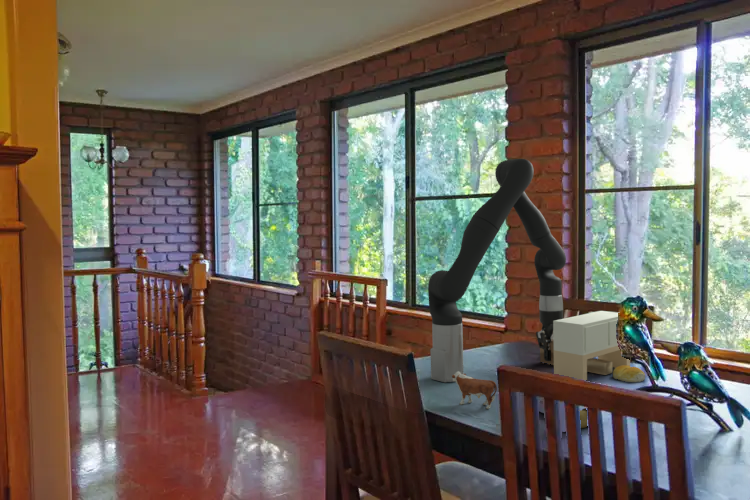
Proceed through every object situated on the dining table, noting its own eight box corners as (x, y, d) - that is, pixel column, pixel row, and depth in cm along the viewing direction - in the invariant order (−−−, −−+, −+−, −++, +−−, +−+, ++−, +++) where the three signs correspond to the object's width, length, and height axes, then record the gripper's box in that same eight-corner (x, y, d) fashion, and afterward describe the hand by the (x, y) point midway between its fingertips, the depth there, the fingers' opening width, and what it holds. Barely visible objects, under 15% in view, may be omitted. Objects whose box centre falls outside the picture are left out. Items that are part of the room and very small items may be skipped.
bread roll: (626, 374, 191) (626, 361, 191) (649, 380, 183) (649, 367, 183) (605, 377, 188) (605, 364, 188) (629, 384, 180) (629, 370, 180)
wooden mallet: (605, 375, 189) (604, 348, 189) (540, 362, 208) (539, 339, 208) (612, 372, 191) (611, 346, 191) (547, 360, 210) (547, 337, 210)
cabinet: (584, 384, 180) (584, 324, 179) (554, 377, 188) (553, 320, 187) (631, 369, 196) (631, 314, 195) (601, 363, 205) (601, 310, 204)
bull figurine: (455, 398, 171) (455, 369, 170) (499, 406, 162) (499, 376, 162) (447, 402, 167) (446, 372, 167) (491, 411, 159) (491, 379, 158)
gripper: (547, 312, 198) (548, 365, 199) (573, 307, 207) (574, 358, 208) (528, 309, 204) (529, 361, 205) (554, 305, 213) (555, 354, 214)
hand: (552, 359), depth 207 cm, fingers closed on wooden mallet, 4 cm apart
